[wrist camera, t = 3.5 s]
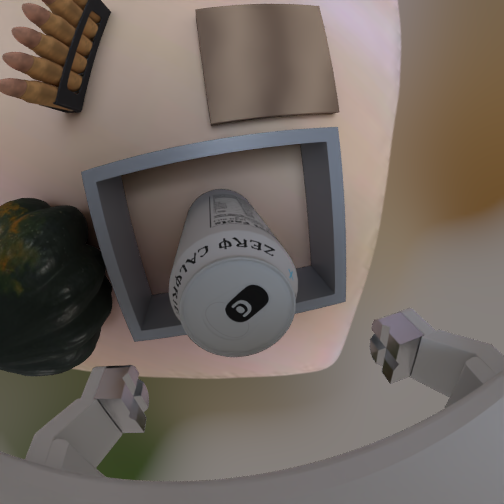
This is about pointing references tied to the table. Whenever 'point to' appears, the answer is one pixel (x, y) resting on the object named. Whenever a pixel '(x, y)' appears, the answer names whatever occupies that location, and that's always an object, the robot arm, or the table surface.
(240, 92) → the walnut pad
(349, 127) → the table surface
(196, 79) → the table surface
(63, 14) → the ammunition clip
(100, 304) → the squash
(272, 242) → the energy drink can
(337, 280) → the grey rectangular open frame
